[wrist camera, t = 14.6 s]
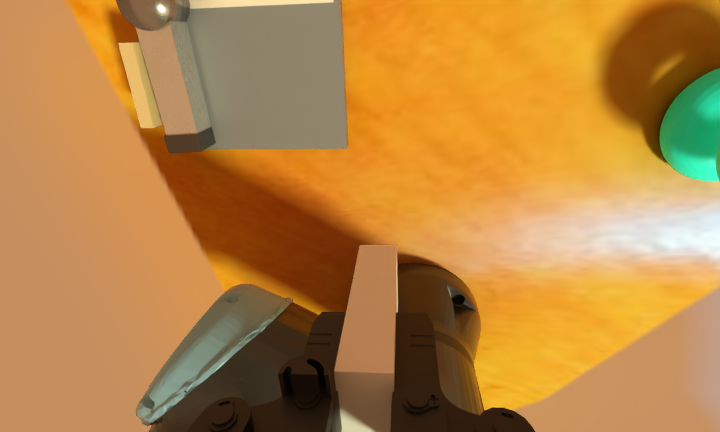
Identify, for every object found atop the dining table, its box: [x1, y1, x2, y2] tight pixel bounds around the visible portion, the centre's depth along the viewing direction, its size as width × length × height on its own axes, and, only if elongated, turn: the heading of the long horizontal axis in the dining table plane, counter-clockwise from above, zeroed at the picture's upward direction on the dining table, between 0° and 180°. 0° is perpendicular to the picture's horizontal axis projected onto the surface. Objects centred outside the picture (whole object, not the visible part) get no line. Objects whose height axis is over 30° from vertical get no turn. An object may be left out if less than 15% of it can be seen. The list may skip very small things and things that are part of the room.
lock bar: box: [116, 0, 216, 153], centre depth 34 cm, size 14×4×3 cm, turn 4°
